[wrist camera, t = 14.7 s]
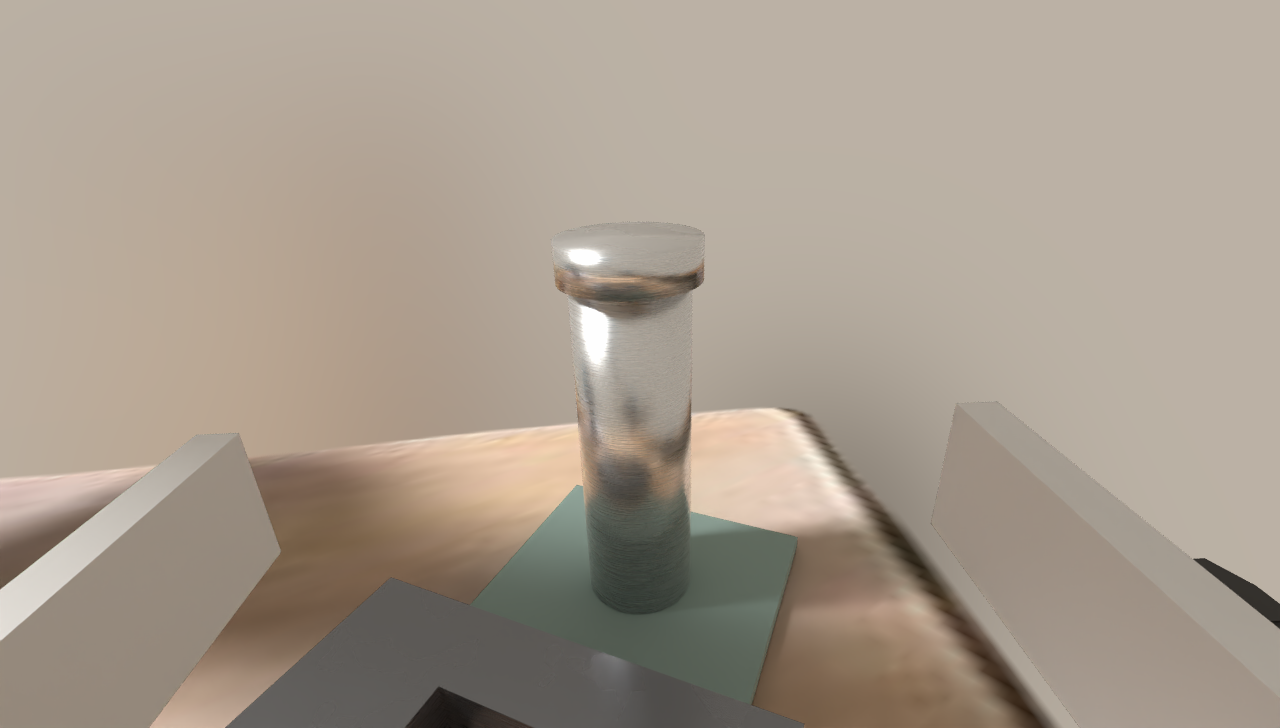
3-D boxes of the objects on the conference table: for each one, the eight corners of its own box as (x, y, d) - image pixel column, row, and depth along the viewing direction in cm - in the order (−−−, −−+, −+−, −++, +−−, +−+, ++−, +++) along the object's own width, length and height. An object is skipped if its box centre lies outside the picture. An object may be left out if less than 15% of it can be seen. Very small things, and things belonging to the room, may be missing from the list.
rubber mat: (460, 629, 25) (457, 618, 24) (577, 493, 33) (576, 484, 33) (742, 735, 20) (743, 723, 20) (796, 547, 28) (797, 537, 28)
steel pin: (559, 600, 25) (520, 247, 19) (613, 525, 29) (595, 219, 23) (675, 638, 23) (672, 259, 17) (714, 552, 27) (723, 225, 21)
